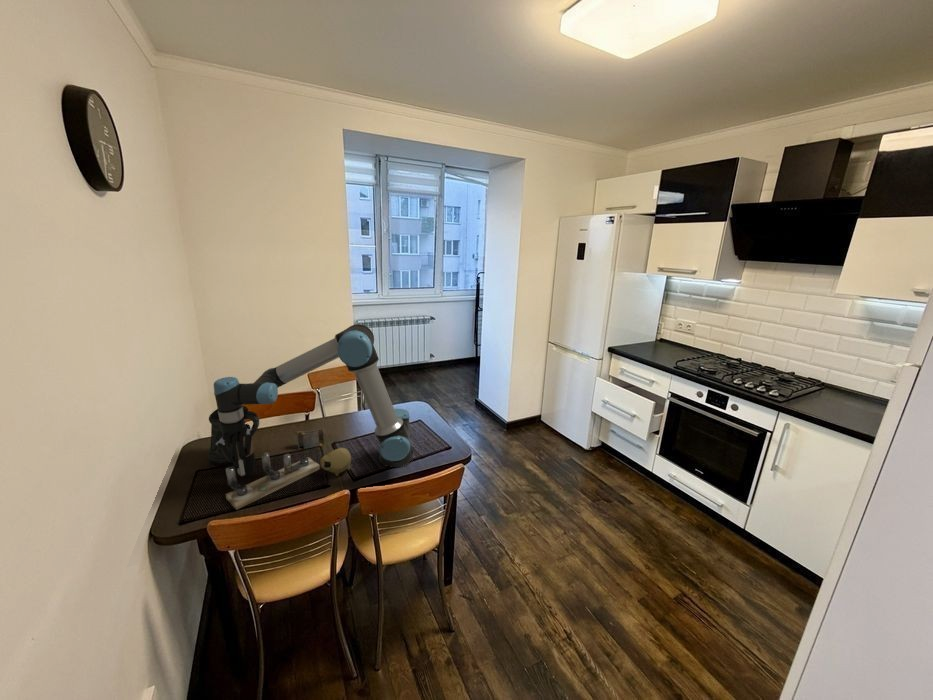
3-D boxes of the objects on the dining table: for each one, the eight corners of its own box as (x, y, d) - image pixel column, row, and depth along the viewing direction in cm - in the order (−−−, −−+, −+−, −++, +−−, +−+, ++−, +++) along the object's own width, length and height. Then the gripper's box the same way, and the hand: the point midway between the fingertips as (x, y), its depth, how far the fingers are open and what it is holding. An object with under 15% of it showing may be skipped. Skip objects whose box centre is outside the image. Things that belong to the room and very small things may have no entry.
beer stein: (204, 456, 158) (194, 404, 151) (253, 440, 172) (246, 392, 164) (215, 473, 147) (205, 418, 140) (266, 454, 161) (259, 403, 154)
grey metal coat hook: (249, 492, 134) (246, 474, 131) (240, 497, 131) (237, 479, 129) (235, 482, 139) (232, 465, 137) (226, 486, 136) (223, 469, 134)
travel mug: (241, 479, 144) (233, 434, 138) (231, 472, 148) (223, 429, 142) (260, 470, 150) (254, 427, 145) (250, 463, 154) (243, 421, 148)
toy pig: (318, 470, 152) (316, 448, 149) (347, 461, 158) (346, 440, 155) (325, 483, 144) (323, 459, 141) (354, 473, 151) (353, 451, 148)
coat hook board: (319, 469, 153) (319, 463, 152) (236, 509, 128) (235, 503, 127) (308, 460, 158) (307, 455, 157) (226, 498, 133) (225, 492, 133)
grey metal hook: (281, 477, 143) (279, 460, 140) (273, 481, 140) (271, 464, 138) (269, 467, 148) (267, 451, 146) (261, 471, 146) (259, 454, 144)
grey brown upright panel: (298, 451, 166) (296, 432, 163) (298, 447, 168) (296, 428, 166) (325, 446, 170) (323, 427, 167) (324, 443, 173) (323, 424, 170)
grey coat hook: (306, 461, 154) (304, 445, 151) (310, 463, 152) (308, 447, 150) (283, 472, 146) (281, 455, 144) (287, 475, 144) (285, 458, 142)
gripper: (245, 409, 139) (253, 462, 146) (207, 422, 128) (218, 479, 135) (255, 415, 135) (263, 469, 142) (217, 429, 124) (228, 486, 132)
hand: (241, 474), depth 139 cm, fingers closed
